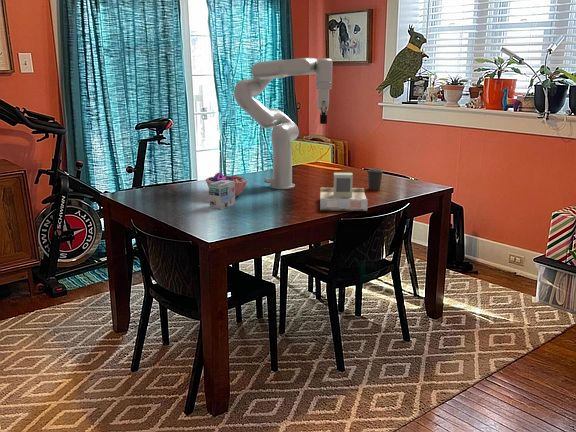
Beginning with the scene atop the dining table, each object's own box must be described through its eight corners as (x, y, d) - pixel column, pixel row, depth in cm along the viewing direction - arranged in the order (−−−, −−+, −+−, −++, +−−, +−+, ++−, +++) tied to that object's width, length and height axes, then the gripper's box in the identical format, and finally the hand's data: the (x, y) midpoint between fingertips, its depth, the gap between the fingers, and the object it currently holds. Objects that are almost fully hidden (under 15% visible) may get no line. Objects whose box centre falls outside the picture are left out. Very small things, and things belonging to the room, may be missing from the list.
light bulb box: (221, 209, 248) (220, 185, 245) (208, 207, 252) (208, 183, 249) (236, 204, 257) (235, 180, 254) (224, 202, 260) (223, 179, 258)
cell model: (238, 202, 261) (237, 177, 258) (199, 198, 267) (198, 174, 264) (253, 194, 276) (253, 171, 273) (215, 191, 283) (215, 168, 280)
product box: (333, 194, 258) (333, 172, 256) (351, 194, 258) (352, 172, 255) (333, 197, 253) (334, 174, 251) (352, 197, 253) (352, 175, 250)
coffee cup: (372, 186, 293) (373, 167, 290) (385, 189, 287) (386, 169, 285) (362, 188, 287) (363, 169, 285) (375, 191, 282) (376, 171, 279)
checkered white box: (320, 211, 246) (320, 198, 244) (320, 199, 267) (320, 187, 265) (367, 211, 245) (367, 199, 243) (363, 199, 266) (364, 188, 264)
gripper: (316, 84, 278) (315, 120, 283) (315, 86, 261) (315, 124, 266) (331, 85, 278) (330, 120, 282) (332, 86, 261) (331, 124, 266)
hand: (323, 122), depth 274 cm, fingers open, 9 cm apart
